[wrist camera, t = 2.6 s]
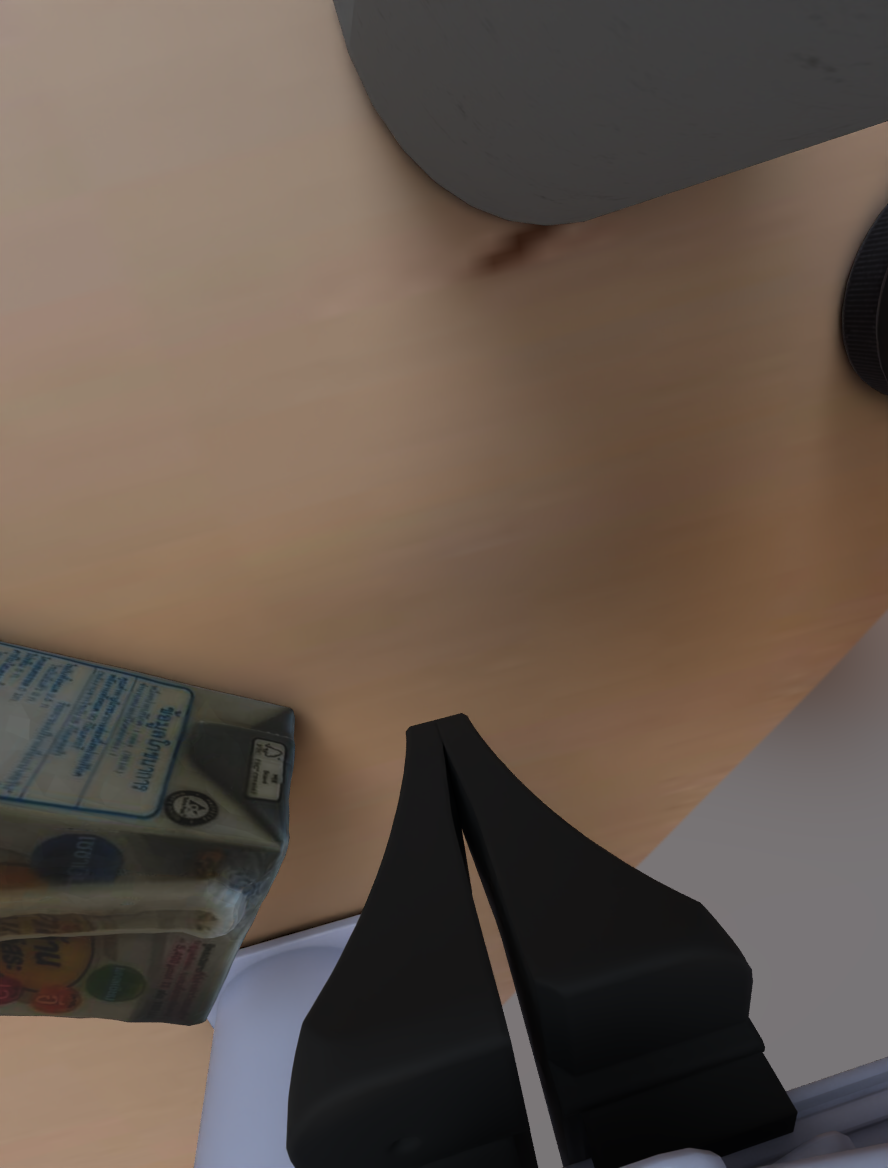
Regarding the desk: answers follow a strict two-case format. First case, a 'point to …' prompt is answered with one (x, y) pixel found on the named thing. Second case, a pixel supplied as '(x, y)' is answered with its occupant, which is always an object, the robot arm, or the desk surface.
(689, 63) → the water bottle
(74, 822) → the beverage carton
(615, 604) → the desk surface
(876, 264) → the camera lens
